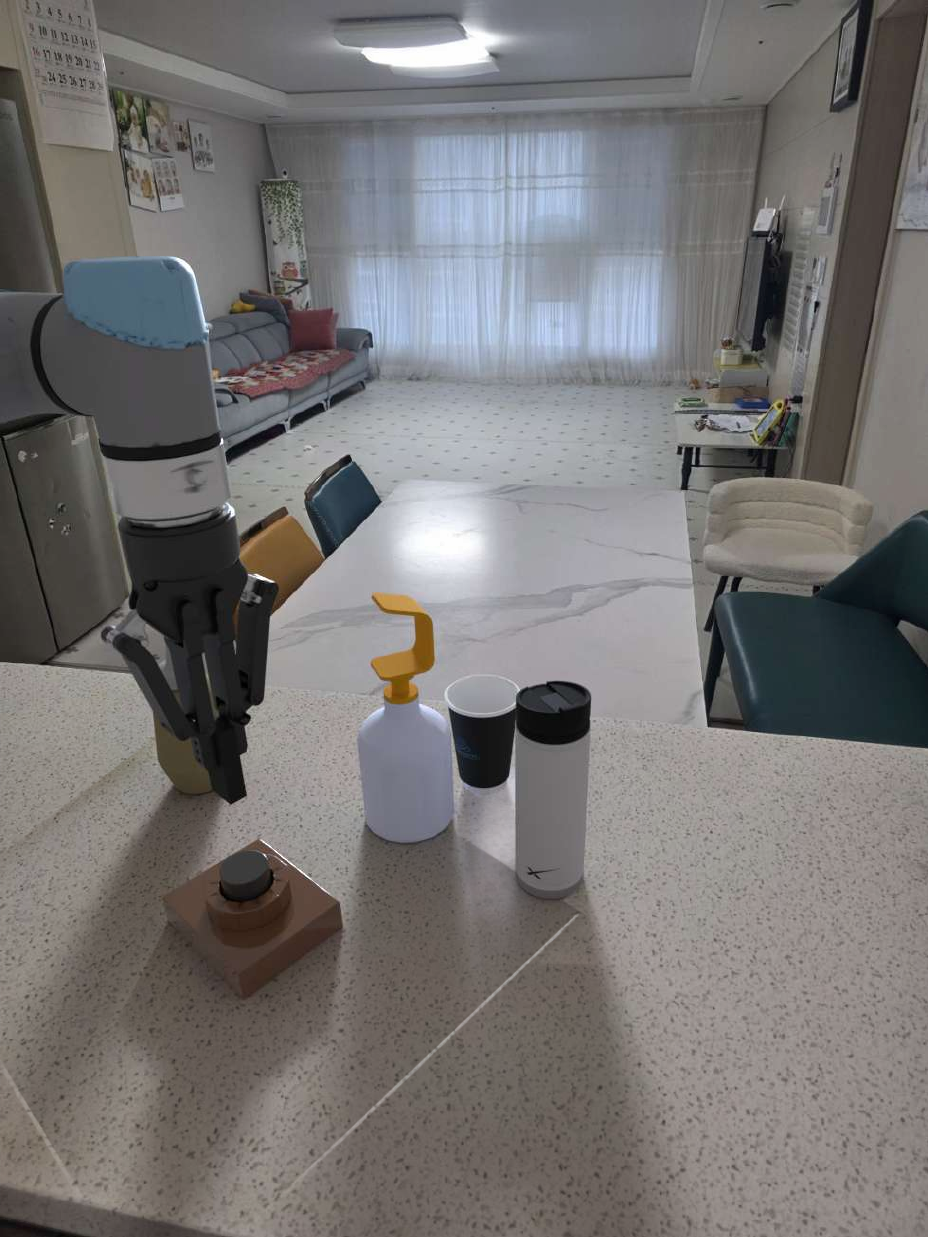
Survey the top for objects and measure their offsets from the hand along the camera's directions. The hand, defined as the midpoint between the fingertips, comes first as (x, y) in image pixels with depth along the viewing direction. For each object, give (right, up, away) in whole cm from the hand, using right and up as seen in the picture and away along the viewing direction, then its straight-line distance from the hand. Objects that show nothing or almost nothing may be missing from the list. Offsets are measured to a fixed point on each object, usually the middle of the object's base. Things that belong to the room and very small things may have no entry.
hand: (229, 792), depth 65 cm
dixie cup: (+21, -4, +24) cm, 32 cm away
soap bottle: (+13, -6, +19) cm, 24 cm away
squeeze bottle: (-10, -4, +25) cm, 28 cm away
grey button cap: (0, -9, +4) cm, 10 cm away
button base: (0, -13, +6) cm, 14 cm away
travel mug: (+27, -10, +11) cm, 30 cm away
